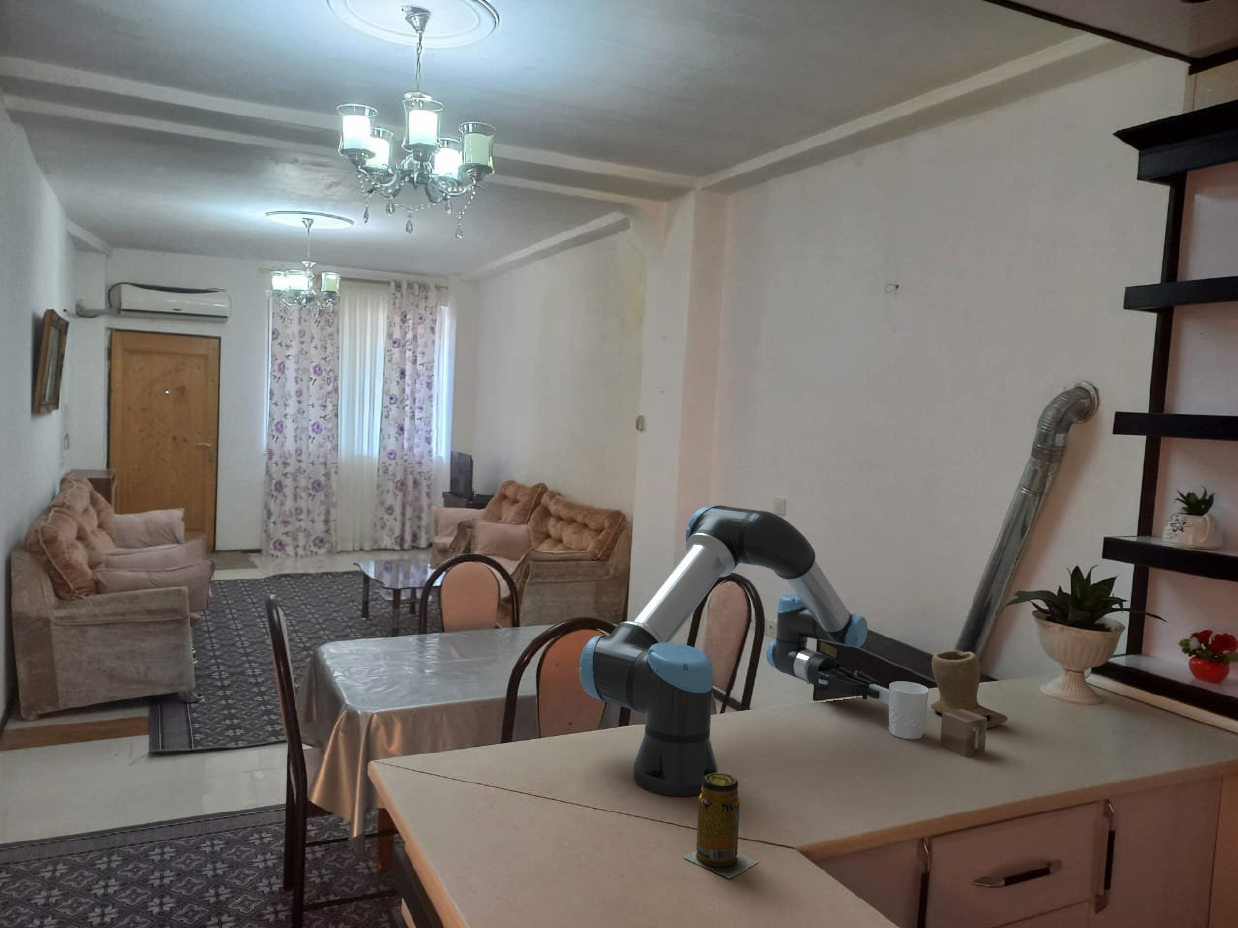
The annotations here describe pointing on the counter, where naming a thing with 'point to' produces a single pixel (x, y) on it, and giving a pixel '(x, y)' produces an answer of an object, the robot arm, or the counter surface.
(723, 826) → the condiment
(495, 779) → the counter surface
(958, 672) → the stone cup
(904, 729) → the white cup
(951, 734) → the marked walnut block
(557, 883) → the counter surface
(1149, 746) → the counter surface
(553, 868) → the counter surface
